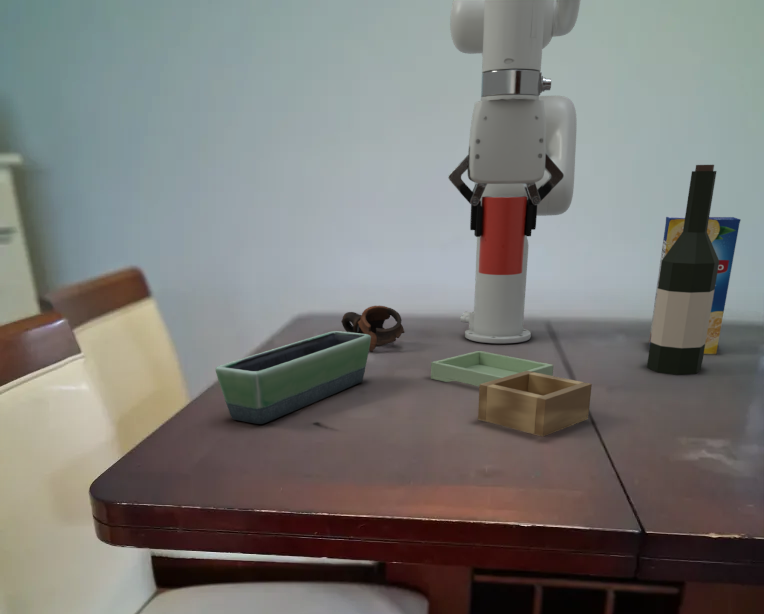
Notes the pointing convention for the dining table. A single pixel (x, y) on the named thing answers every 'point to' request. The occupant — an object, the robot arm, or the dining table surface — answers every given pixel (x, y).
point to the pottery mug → (374, 325)
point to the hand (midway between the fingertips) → (502, 234)
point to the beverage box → (724, 244)
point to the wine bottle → (686, 286)
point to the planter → (293, 375)
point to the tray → (483, 367)
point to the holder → (534, 402)
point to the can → (502, 234)
